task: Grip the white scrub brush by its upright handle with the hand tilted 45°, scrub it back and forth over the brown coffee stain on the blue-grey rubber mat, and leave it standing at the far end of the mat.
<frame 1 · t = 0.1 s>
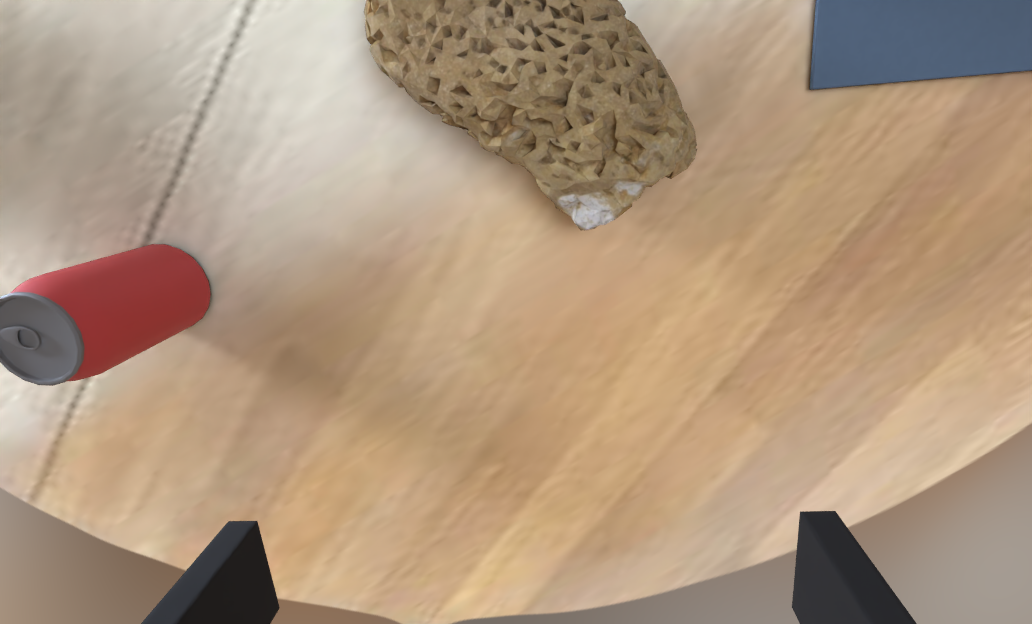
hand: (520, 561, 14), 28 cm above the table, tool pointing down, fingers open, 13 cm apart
beer can: (174, 284, 43), on the table
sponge: (529, 81, 37), on the table
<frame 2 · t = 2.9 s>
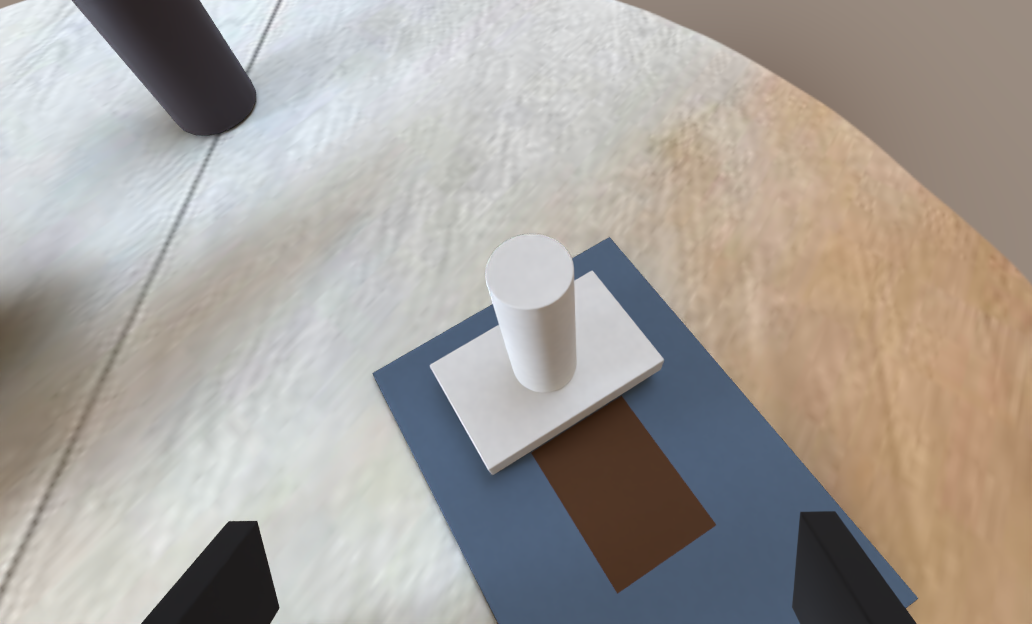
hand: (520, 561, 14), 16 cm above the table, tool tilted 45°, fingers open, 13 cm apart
mat: (608, 472, 30), on the table
vinegar: (219, 109, 46), on the table
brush: (547, 379, 32), resting on mat
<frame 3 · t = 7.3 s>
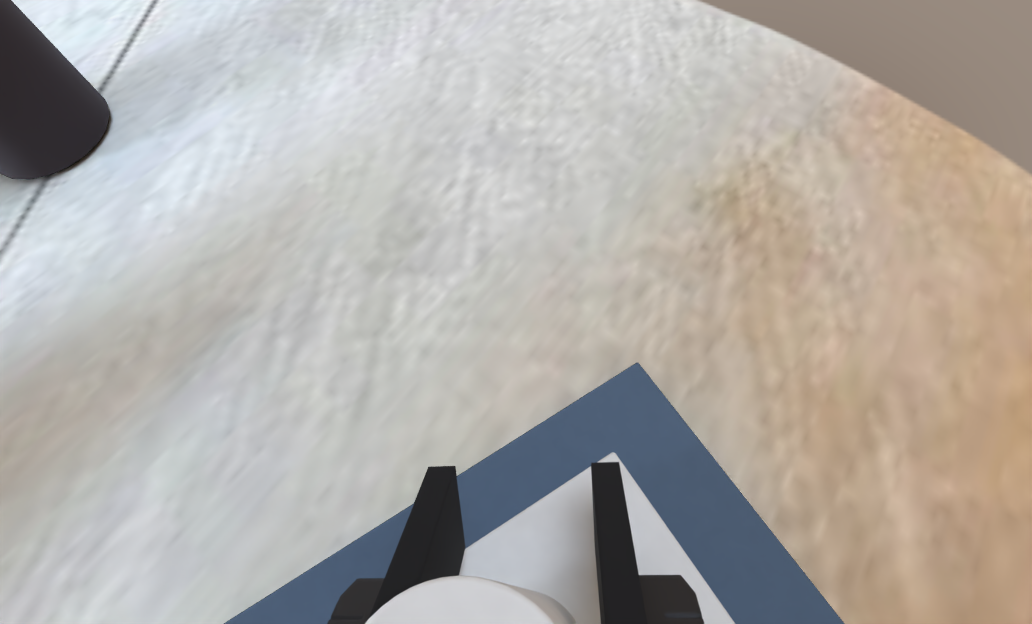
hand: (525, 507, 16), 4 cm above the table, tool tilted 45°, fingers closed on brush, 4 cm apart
vinegar: (57, 138, 32), on the table
when the fingers open (4 cm above the table, at t = 17.6 s): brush stays where it is, resting on mat.
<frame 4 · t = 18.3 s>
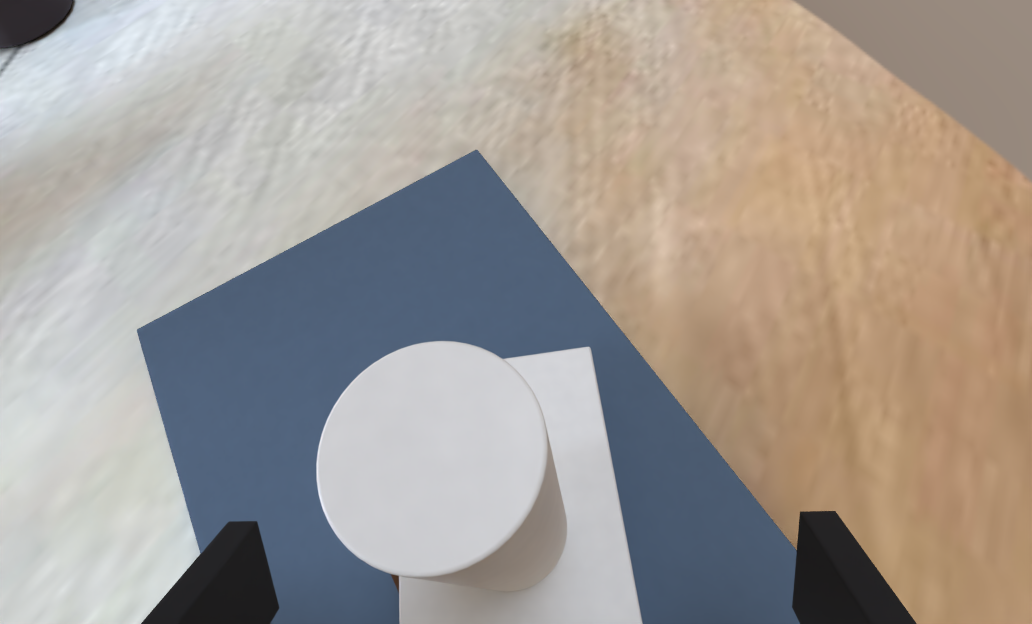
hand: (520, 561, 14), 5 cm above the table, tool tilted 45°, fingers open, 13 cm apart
mat: (437, 463, 21), on the table
vinegar: (28, 19, 37), on the table
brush: (518, 535, 19), point 1 cm above the table, touching mat
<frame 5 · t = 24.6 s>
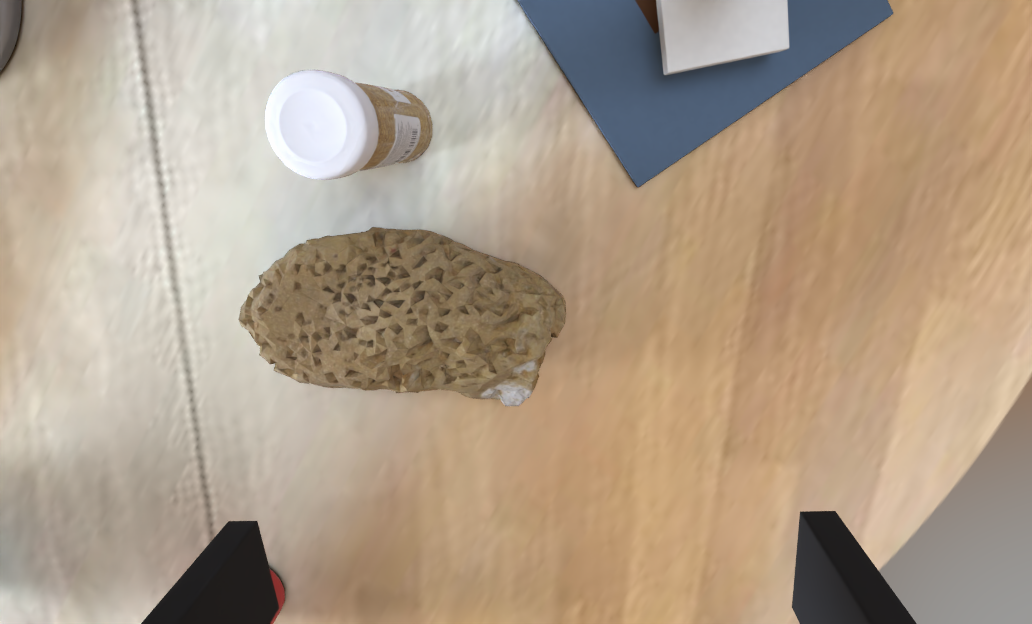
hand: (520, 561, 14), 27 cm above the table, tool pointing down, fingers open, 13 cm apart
sprinkles bottle: (400, 128, 37), on the table
beer can: (252, 583, 50), on the table
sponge: (412, 306, 41), on the table
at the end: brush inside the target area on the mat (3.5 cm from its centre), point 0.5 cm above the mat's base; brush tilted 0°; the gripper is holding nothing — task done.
